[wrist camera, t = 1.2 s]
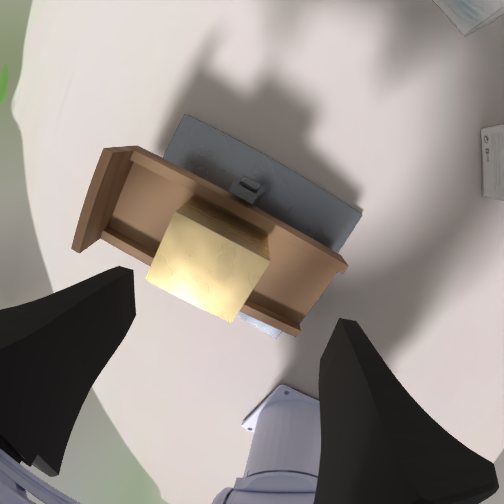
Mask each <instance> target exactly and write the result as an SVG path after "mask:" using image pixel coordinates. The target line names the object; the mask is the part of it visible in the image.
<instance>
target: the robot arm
mask: <svg viewBox="0 0 504 504" xmlns="http://www.w3.org/2000/svg"><path fill="white" fill-rule="evenodd" d="M135 316H136V308H135V293H134V272H133V270H131V269H128V268H124V267H121V266H118V267H115V268H112V269H109V270H107V271H104V272H102V273H100V274H98V275H95V276H93V277H91V278H89V279H86V280H84V281H82V282H79V283H77V284H75V285H73V286H70V287H68V288H66V289H63V290H61V291H58V292H56V293H53V294H51V295H49V296H46V297H43V298H41V299H38V300H35V301H32V302H28V303H25V304H22V305H19V306H15V307H10V308H6V309H2V310H0V504H36V503H34V502H33V501H31V500H29V499H28V498H27V495H26V491H25V490H27V491H28V492H30V493H31V494H32V495H34V496H35V497H36V498H38V499H39V500H41V501H42V502H44V503H45V504H81V503H79V502H77V501H76V500H74V499H72V498H70V497H68V496H67V495H65V494H63V493H62V492H60V491H58V490H57V489H55V488H54V487H52V486H50V485H49V484H47V483H46V482H44V481H43V480H41V479H40V478H38V477H37V476H35V475H33V473H31V472H30V471H28V470H27V469H25V468H24V467H23V466H22V465H20V462H21V461H23V462H24V463H25V464H27V465H28V466H31V465H33V466H35V467H36V468H38V469H39V470H41V471H42V472H44V473H45V474H47V475H48V476H50V477H53V476H57V475H59V472H60V467H61V463H62V460H63V456H64V452H65V449H66V446H67V443H68V440H69V437H70V434H71V431H72V429H73V426H74V423H75V421H76V419H77V416H78V414H79V412H80V409H81V407H82V404H83V403H84V401H85V399H86V397H87V395H88V392H89V390H90V388H91V387H92V385H93V383H94V382H95V380H96V379H97V377H98V376H99V374H100V373H101V371H102V370H103V368H104V367H105V365H106V364H107V362H108V361H109V359H110V358H111V356H112V355H113V354H114V352H115V351H116V349H117V348H118V346H119V345H120V343H121V342H122V340H123V339H124V337H125V336H126V334H127V332H128V330H129V328H130V326H131V324H132V322H133V320H134V318H135ZM285 391H289V392H285ZM242 428H243V429H245V430H247V431H249V432H252V433H254V435H253V440H252V444H251V448H250V452H249V456H248V460H247V464H246V469H245V473H244V476H243V478H236V482H235V486H234V488H232V487H227V488H225V489H223V490H222V491H221V492H220V493H219V494H217V496H216V497H215V498H214V500H213V502H212V504H479V503H480V502H482V501H484V500H486V499H487V498H489V497H490V496H492V495H493V494H494V493H495V492H496V491H497V490H498V488H499V484H498V480H497V476H496V471H495V467H494V464H493V463H492V462H490V461H488V460H487V459H485V458H483V457H482V456H480V455H478V454H477V453H475V452H474V451H472V450H470V449H469V448H467V447H466V446H465V445H463V444H462V443H461V442H459V441H458V440H457V439H455V438H454V437H453V436H452V435H450V434H449V433H448V432H447V431H446V430H444V429H443V428H442V427H441V426H440V425H439V424H438V423H437V422H436V421H435V420H433V419H432V418H431V417H430V416H429V415H428V414H427V413H426V412H425V411H424V410H423V409H422V408H421V407H420V405H419V404H418V403H417V402H416V401H415V400H414V399H413V398H412V397H411V396H410V394H409V393H408V392H407V391H406V390H405V388H404V387H403V386H402V385H401V383H400V382H399V381H398V380H397V378H396V377H395V376H394V374H393V373H392V372H391V370H390V369H389V368H388V366H387V365H386V363H385V362H384V361H383V359H382V358H381V356H380V355H379V354H378V352H377V351H376V349H375V348H374V346H373V345H372V343H371V342H370V340H369V339H368V337H367V336H366V334H365V333H364V332H363V330H362V329H361V327H360V326H359V324H358V323H357V322H356V321H353V320H347V319H342V318H339V320H338V322H337V324H336V327H335V329H334V331H333V334H332V336H331V338H330V340H329V342H328V345H327V347H326V349H325V351H324V353H323V355H322V357H321V359H320V371H319V401H318V400H315V399H313V398H311V397H309V396H307V395H305V394H303V393H300V392H298V391H296V390H294V389H292V388H290V387H288V386H286V385H279V386H278V387H277V388H276V389H275V390H274V391H273V392H272V393H271V394H270V395H269V396H268V398H267V399H266V400H265V401H264V402H263V403H262V404H261V405H260V406H259V407H258V408H257V409H256V410H255V411H254V412H253V413H252V414H251V415H250V416H249V417H248V418H247V419H246V420H245V421H244V422H243V423H242Z"/></svg>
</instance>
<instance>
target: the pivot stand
mask: <svg viewBox="0 0 504 504" xmlns="http://www.w3.org/2000/svg"><path fill="white" fill-rule="evenodd" d="M163 159H165V160H167V161H169V162H171V163H173V164H175V165H177V166H179V167H181V168H183V169H185V170H187V171H189V172H191V173H193V174H195V175H197V176H199V177H201V178H203V179H205V180H206V181H208V182H210V183H212V184H214V185H216V186H218V187H220V188H222V189H224V190H225V191H227V192H229V193H231V194H233V195H235V196H237V197H239V198H240V199H242V200H244V201H246V202H248V203H250V204H251V205H253V206H255V207H257V208H259V209H261V210H262V211H264V212H266V213H268V214H270V215H271V216H273V217H275V218H277V219H279V220H280V221H282V222H284V223H286V224H288V225H289V226H291V227H293V228H295V229H296V230H298V231H300V232H302V233H303V234H305V235H307V236H309V237H310V238H312V239H314V240H316V241H317V242H319V243H321V244H322V245H324V246H326V247H328V248H329V249H331V250H333V251H334V252H336V253H338V252H339V250H340V249H341V247H342V246H343V244H344V243H345V241H346V240H347V238H348V237H349V235H350V234H351V232H352V231H353V229H354V228H355V226H356V224H357V223H358V221H359V220H360V218H361V217H362V214H360V213H359V212H357V211H356V210H354V209H353V208H351V207H350V206H348V205H347V204H345V203H344V202H342V201H341V200H339V199H337V198H336V197H334V196H333V195H331V194H330V193H328V192H326V191H325V190H323V189H322V188H320V187H318V186H317V185H315V184H314V183H312V182H310V181H309V180H307V179H305V178H304V177H302V176H300V175H299V174H297V173H295V172H294V171H292V170H290V169H289V168H287V167H285V166H284V165H282V164H280V163H278V162H277V161H275V160H273V159H271V158H270V157H268V156H266V155H264V154H262V153H261V152H259V151H257V150H255V149H253V148H251V147H250V146H248V145H246V144H244V143H242V142H240V141H238V140H237V139H235V138H233V137H231V136H229V135H227V134H225V133H223V132H221V131H219V130H217V129H215V128H213V127H211V126H209V125H207V124H205V123H203V122H201V121H199V120H197V119H195V118H193V117H191V116H188V115H186V114H185V115H184V117H183V119H182V121H181V123H180V125H179V127H178V129H177V130H176V132H175V134H174V136H173V138H172V140H171V142H170V144H169V146H168V148H167V150H166V152H165V154H164V156H163ZM236 316H238V317H239V318H241V319H243V320H244V321H246V322H248V323H250V324H251V325H253V326H255V327H257V328H258V329H260V330H262V331H264V332H265V333H267V334H269V335H271V336H273V337H274V338H276V339H277V337H278V336H279V335H280V333H281V332H282V331H281V330H279V329H276V328H274V327H272V326H270V325H268V324H265V323H263V322H261V321H259V320H257V319H255V318H252V317H250V316H248V315H246V314H244V313H242V312H240V311H239V312H238V314H237V315H236Z"/></svg>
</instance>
